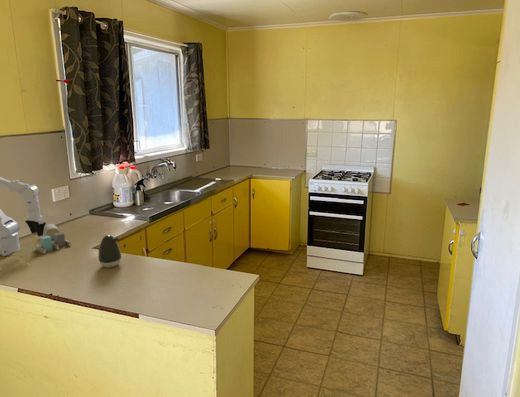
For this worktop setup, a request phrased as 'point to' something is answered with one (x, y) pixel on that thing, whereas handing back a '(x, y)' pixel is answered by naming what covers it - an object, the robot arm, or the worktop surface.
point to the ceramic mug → (51, 230)
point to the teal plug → (46, 243)
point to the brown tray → (55, 247)
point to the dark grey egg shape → (109, 252)
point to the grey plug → (59, 239)
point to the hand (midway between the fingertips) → (37, 234)
